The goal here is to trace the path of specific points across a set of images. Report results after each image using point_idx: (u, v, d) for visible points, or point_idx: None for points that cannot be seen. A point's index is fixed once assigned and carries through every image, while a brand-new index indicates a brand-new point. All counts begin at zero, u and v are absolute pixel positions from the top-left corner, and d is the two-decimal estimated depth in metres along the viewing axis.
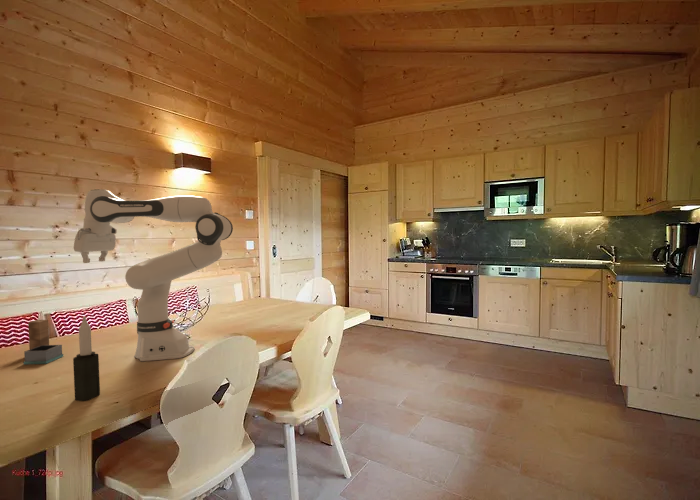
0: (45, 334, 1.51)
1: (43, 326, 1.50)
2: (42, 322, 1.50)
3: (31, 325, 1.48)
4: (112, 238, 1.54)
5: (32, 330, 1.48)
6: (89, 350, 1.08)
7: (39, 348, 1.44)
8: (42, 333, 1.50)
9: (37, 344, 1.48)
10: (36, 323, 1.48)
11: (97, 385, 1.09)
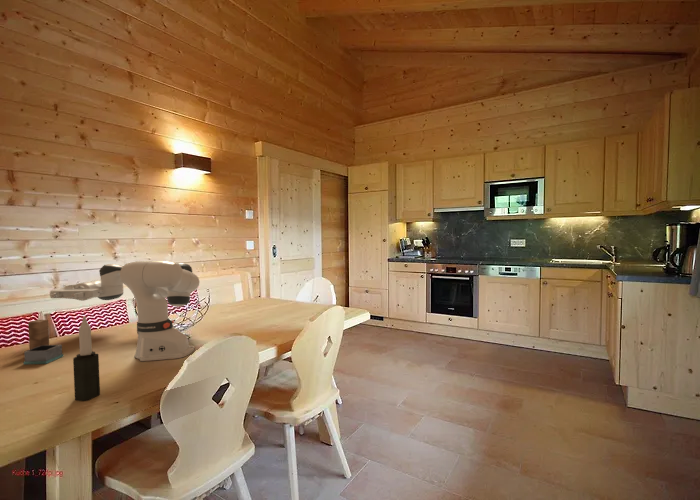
0: (45, 334, 1.51)
1: (43, 326, 1.50)
2: (42, 322, 1.50)
3: (31, 325, 1.48)
4: None
5: (32, 330, 1.48)
6: (89, 350, 1.08)
7: (39, 348, 1.44)
8: (42, 333, 1.50)
9: (37, 344, 1.48)
10: (36, 323, 1.48)
11: (97, 385, 1.09)
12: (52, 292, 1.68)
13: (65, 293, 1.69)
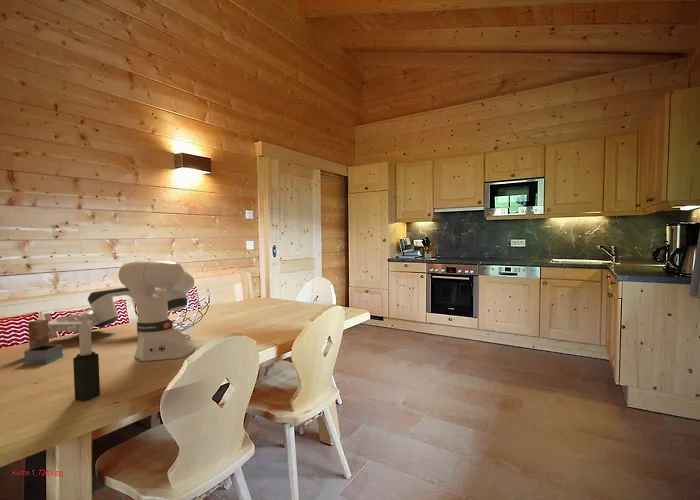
0: (45, 334, 1.51)
1: (43, 326, 1.50)
2: (42, 322, 1.50)
3: (31, 325, 1.48)
4: None
5: (32, 330, 1.48)
6: (89, 350, 1.08)
7: (39, 348, 1.44)
8: (42, 333, 1.50)
9: (37, 344, 1.48)
10: (36, 323, 1.48)
11: (97, 385, 1.09)
12: None
13: (58, 326, 1.65)
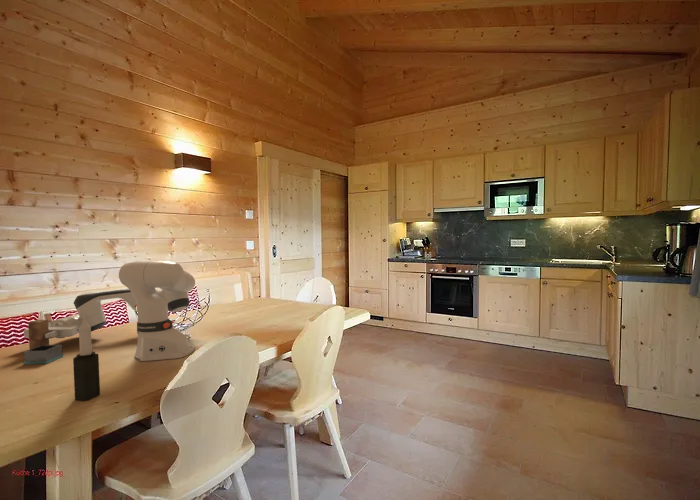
0: None
1: (43, 326, 1.50)
2: (42, 322, 1.50)
3: (31, 325, 1.48)
4: None
5: (32, 330, 1.48)
6: (89, 350, 1.08)
7: (39, 348, 1.44)
8: (42, 333, 1.50)
9: (37, 344, 1.48)
10: (36, 323, 1.48)
11: (97, 385, 1.09)
12: (26, 331, 1.54)
13: None
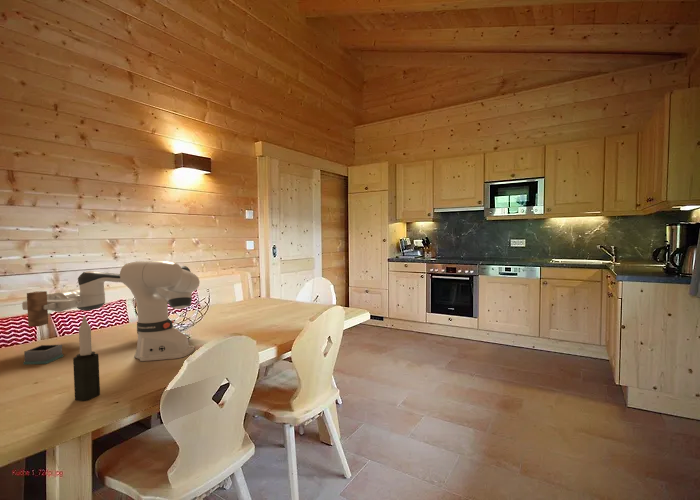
0: None
1: (41, 298, 1.49)
2: (41, 293, 1.49)
3: (29, 295, 1.47)
4: None
5: (31, 301, 1.47)
6: (89, 350, 1.08)
7: (39, 348, 1.44)
8: (41, 304, 1.49)
9: (36, 315, 1.47)
10: (35, 294, 1.47)
11: (97, 385, 1.09)
12: (24, 303, 1.53)
13: None
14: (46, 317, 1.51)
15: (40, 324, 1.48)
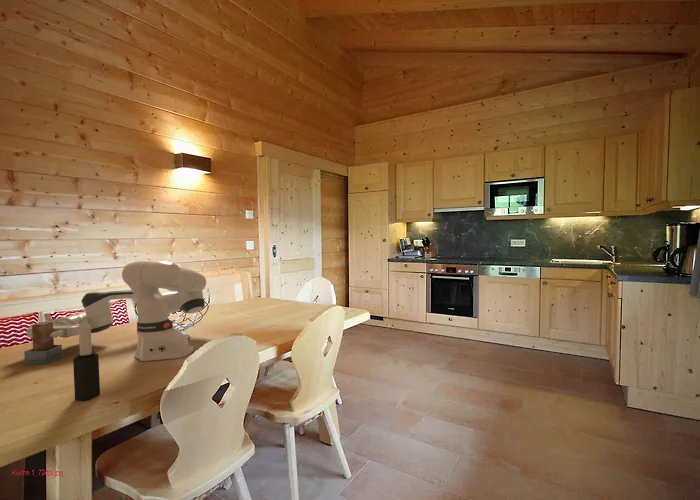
0: (50, 337, 1.42)
1: (47, 329, 1.41)
2: (46, 324, 1.41)
3: (34, 327, 1.39)
4: None
5: (36, 333, 1.39)
6: (89, 350, 1.08)
7: None
8: (47, 336, 1.41)
9: (42, 348, 1.40)
10: (40, 326, 1.39)
11: (97, 385, 1.09)
12: (29, 330, 1.45)
13: None
14: None
15: None
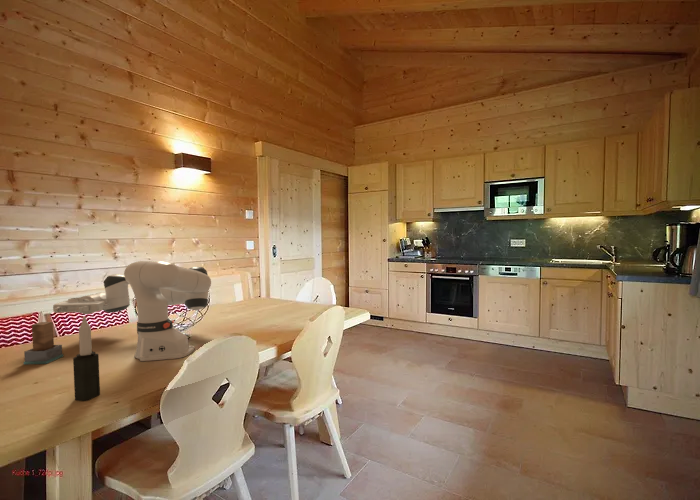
0: (50, 337, 1.42)
1: (47, 329, 1.41)
2: (46, 324, 1.41)
3: (34, 327, 1.39)
4: None
5: (36, 333, 1.39)
6: (89, 350, 1.08)
7: None
8: (47, 336, 1.41)
9: (42, 348, 1.40)
10: (40, 326, 1.39)
11: (97, 385, 1.09)
12: (55, 306, 1.59)
13: (69, 307, 1.60)
14: None
15: None
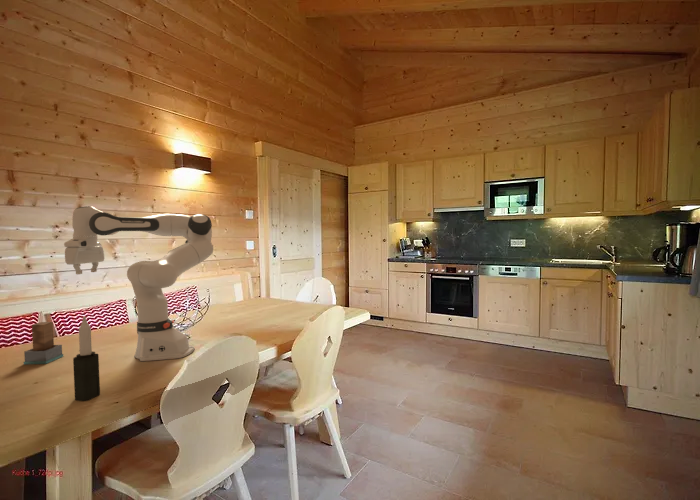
0: (50, 337, 1.42)
1: (47, 329, 1.41)
2: (46, 324, 1.41)
3: (34, 327, 1.39)
4: None
5: (36, 333, 1.39)
6: (89, 350, 1.08)
7: None
8: (47, 336, 1.41)
9: (42, 348, 1.40)
10: (40, 326, 1.39)
11: (97, 385, 1.09)
12: (75, 264, 1.51)
13: None
14: None
15: None
